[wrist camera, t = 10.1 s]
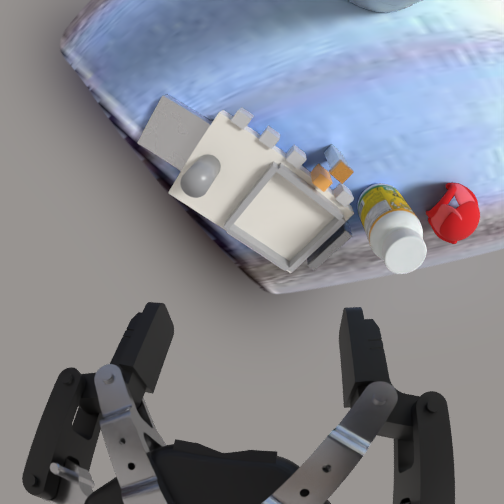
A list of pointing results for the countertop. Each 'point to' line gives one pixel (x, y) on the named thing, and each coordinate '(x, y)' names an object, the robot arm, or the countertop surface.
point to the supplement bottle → (392, 228)
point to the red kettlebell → (455, 214)
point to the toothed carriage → (261, 191)
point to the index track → (189, 135)
